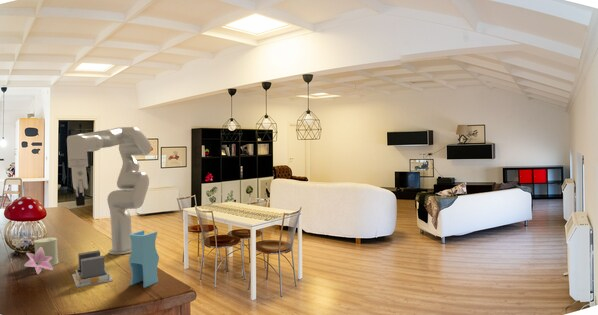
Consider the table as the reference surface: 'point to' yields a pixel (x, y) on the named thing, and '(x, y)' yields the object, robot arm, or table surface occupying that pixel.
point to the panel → (92, 267)
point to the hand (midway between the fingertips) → (80, 205)
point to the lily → (39, 261)
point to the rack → (93, 280)
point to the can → (48, 248)
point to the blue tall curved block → (143, 258)
